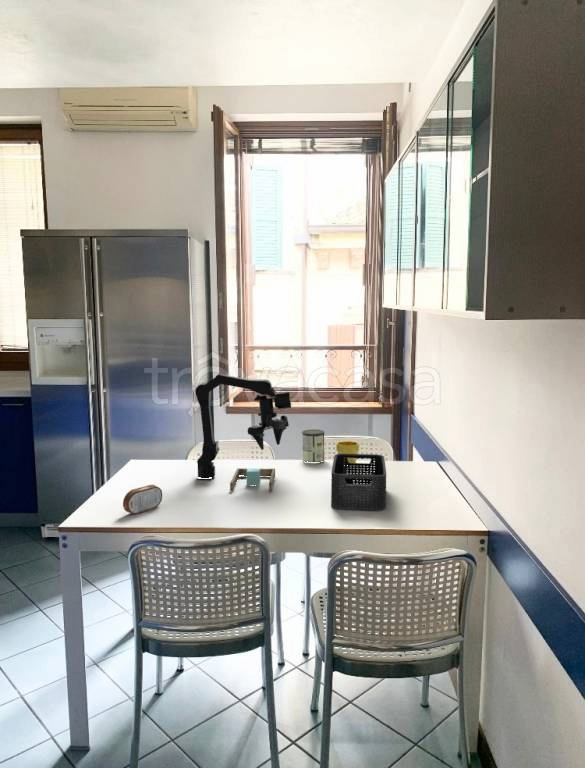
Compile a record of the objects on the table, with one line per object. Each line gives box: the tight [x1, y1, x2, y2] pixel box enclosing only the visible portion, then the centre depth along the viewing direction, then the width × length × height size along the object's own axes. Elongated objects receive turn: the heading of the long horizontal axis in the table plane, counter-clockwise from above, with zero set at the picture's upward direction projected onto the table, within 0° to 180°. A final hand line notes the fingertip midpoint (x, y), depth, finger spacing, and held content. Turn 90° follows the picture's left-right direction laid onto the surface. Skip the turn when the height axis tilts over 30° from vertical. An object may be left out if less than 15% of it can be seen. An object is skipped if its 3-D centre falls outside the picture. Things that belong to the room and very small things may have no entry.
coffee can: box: [301, 428, 325, 462], centre depth 263 cm, size 10×10×14 cm
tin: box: [122, 484, 163, 515], centre depth 197 cm, size 15×3×8 cm, turn 141°
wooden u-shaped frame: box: [229, 467, 276, 493], centre depth 229 cm, size 16×21×4 cm
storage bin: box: [330, 453, 387, 512], centre depth 210 cm, size 29×19×13 cm
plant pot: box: [335, 440, 360, 463], centre depth 258 cm, size 10×10×10 cm
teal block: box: [246, 467, 261, 487], centre depth 228 cm, size 5×5×6 cm
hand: (270, 447), depth 236 cm, fingers open, 9 cm apart
